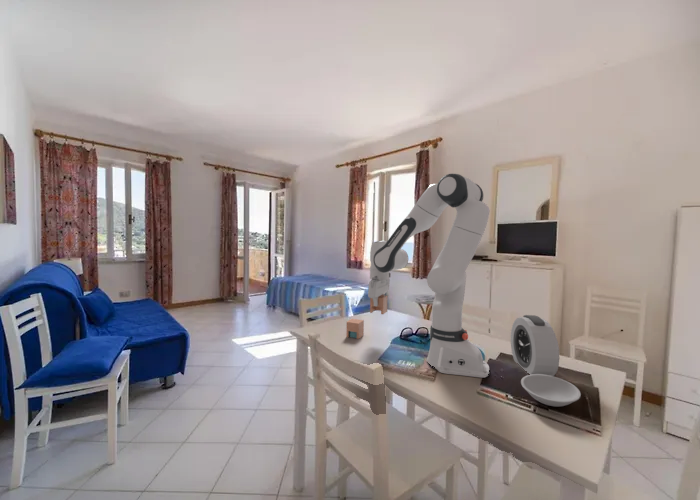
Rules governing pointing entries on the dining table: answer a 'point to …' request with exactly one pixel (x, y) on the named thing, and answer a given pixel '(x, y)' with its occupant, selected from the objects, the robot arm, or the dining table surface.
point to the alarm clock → (535, 345)
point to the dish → (550, 389)
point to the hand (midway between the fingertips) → (378, 304)
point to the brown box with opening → (379, 304)
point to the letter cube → (353, 334)
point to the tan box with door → (355, 327)
